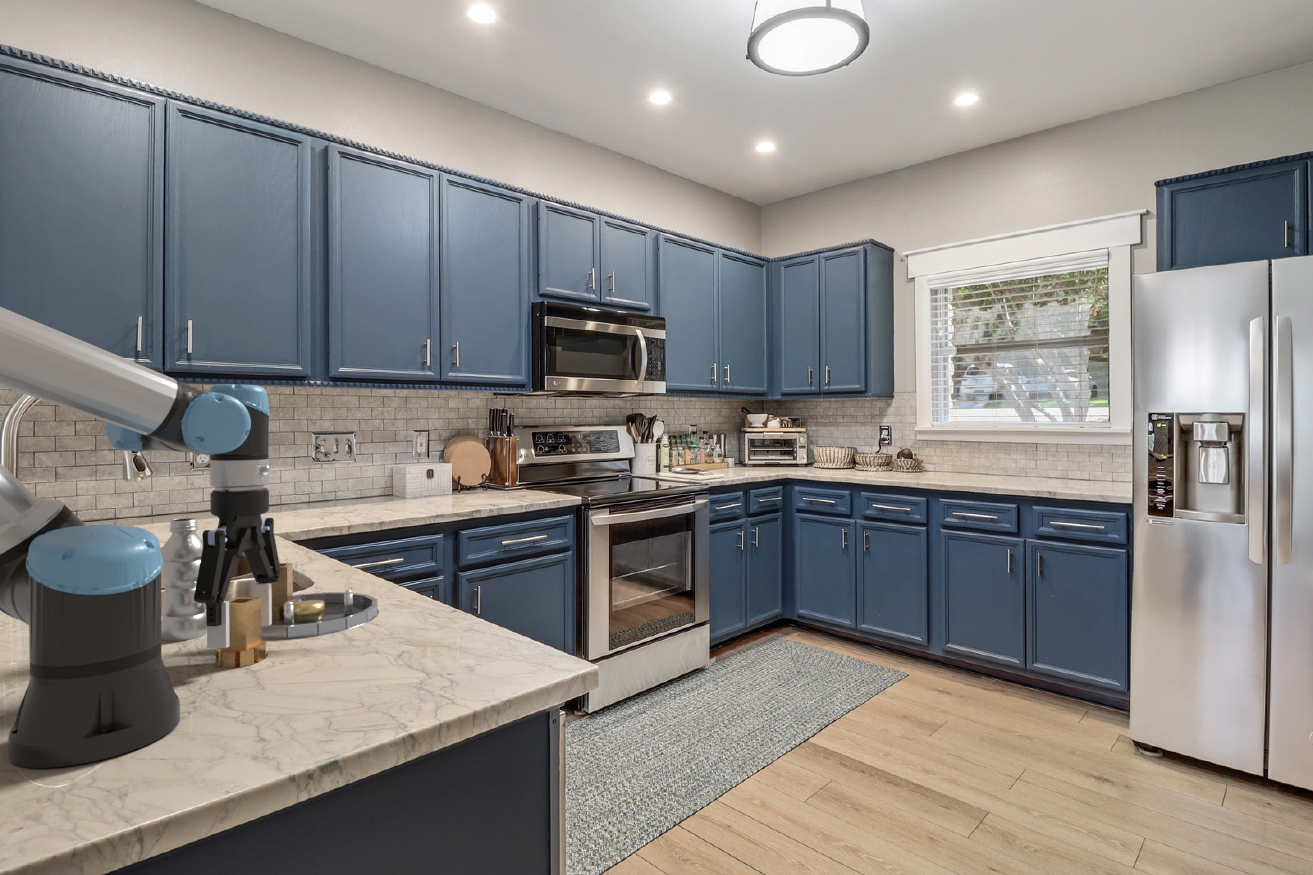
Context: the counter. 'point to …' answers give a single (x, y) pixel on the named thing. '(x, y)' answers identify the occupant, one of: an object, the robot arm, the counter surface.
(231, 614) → the hollow wooden square post
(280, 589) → the tan square tube
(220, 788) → the counter surface
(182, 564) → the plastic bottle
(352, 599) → the bowl
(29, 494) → the robot arm
